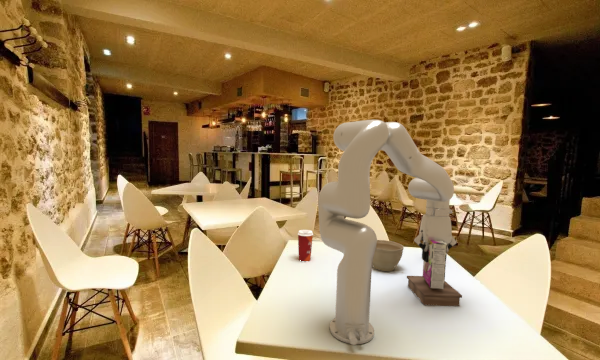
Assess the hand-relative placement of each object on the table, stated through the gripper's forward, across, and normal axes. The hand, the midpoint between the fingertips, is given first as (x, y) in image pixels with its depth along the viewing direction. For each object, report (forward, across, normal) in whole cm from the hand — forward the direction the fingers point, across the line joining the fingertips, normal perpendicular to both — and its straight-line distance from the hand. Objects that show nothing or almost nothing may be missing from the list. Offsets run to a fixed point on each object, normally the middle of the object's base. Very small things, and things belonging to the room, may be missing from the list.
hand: (433, 260), depth 107 cm
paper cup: (+13, +46, -35) cm, 59 cm away
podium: (+13, 0, 0) cm, 13 cm away
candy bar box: (+8, 0, 0) cm, 8 cm away
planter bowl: (+13, +10, -27) cm, 31 cm away
